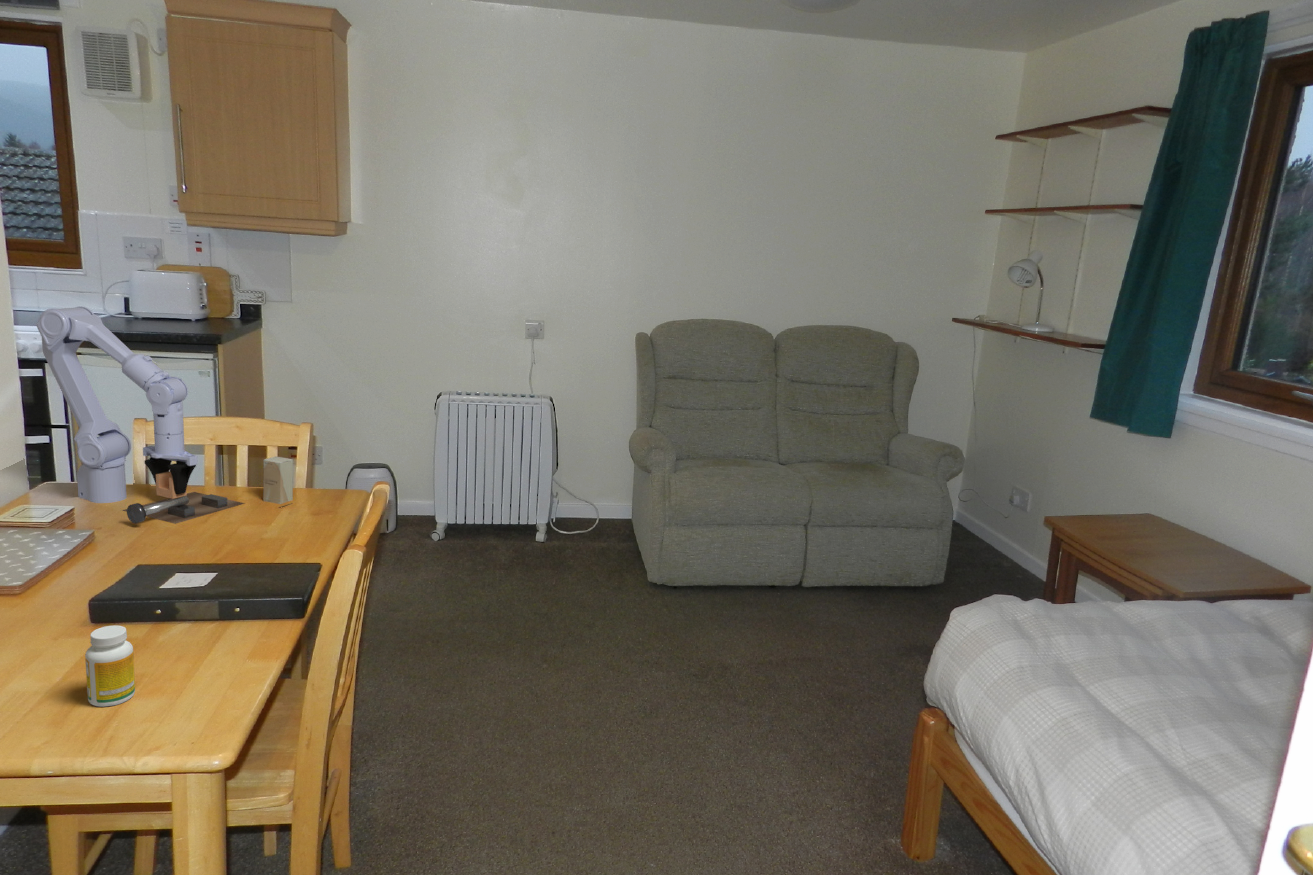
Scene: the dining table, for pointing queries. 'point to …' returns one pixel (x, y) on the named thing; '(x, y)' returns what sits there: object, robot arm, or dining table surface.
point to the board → (194, 501)
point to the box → (278, 480)
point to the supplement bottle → (110, 667)
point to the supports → (207, 500)
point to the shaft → (152, 508)
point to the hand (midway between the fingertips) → (171, 491)
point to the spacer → (166, 486)
